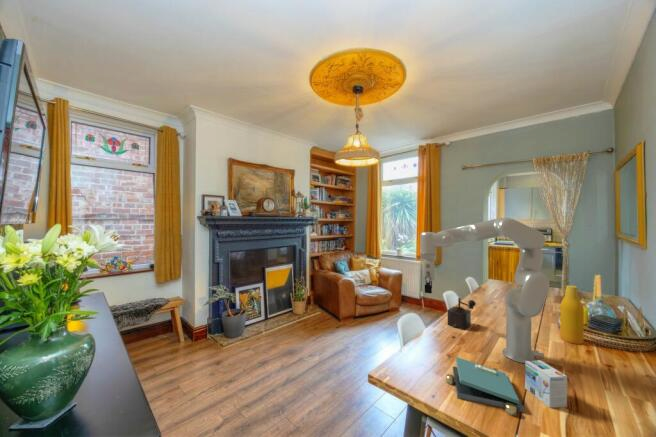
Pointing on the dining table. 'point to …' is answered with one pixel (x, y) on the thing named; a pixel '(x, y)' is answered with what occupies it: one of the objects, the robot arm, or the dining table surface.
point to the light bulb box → (546, 383)
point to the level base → (482, 395)
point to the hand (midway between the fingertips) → (428, 290)
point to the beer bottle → (572, 317)
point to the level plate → (486, 379)
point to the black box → (460, 315)
